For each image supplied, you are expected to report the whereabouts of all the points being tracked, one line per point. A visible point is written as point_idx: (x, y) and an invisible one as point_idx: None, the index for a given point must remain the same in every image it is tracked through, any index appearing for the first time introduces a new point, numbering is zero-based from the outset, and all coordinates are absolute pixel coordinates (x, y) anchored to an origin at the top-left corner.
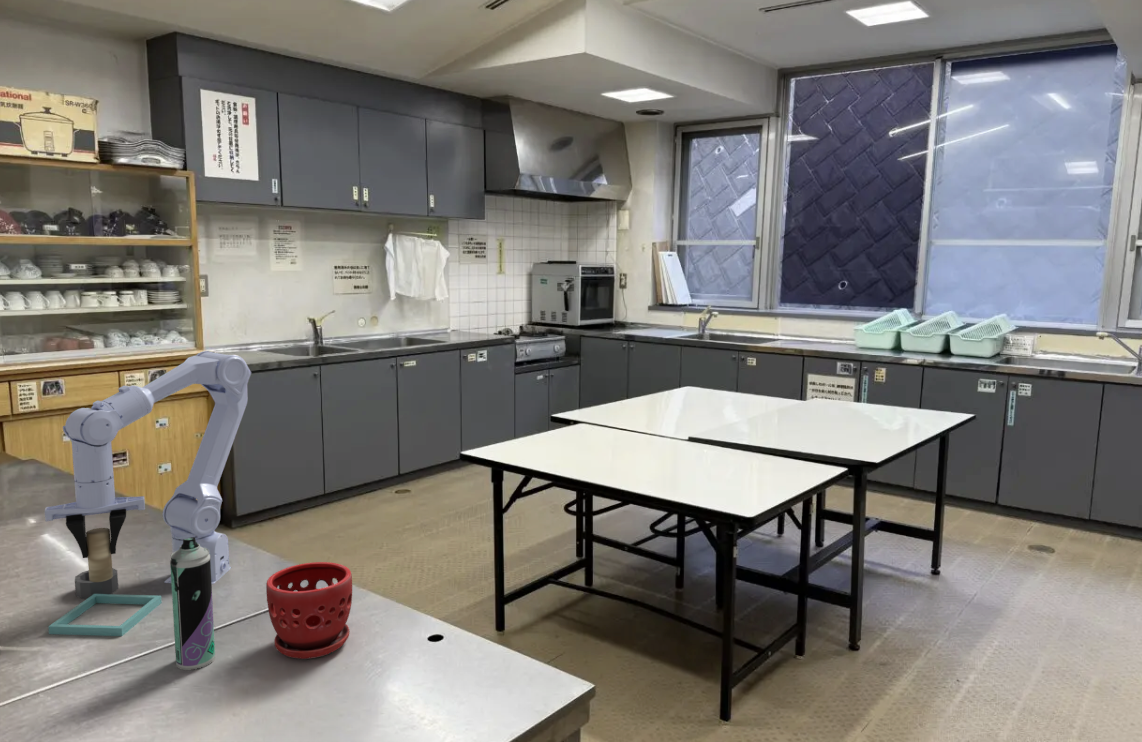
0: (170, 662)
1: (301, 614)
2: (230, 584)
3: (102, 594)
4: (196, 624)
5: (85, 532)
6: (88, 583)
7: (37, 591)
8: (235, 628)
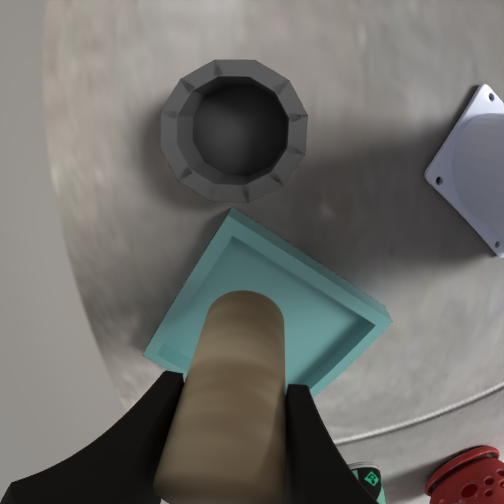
0: None
1: None
2: None
3: (251, 233)
4: None
5: (141, 457)
6: (206, 197)
7: (90, 49)
8: (434, 427)
